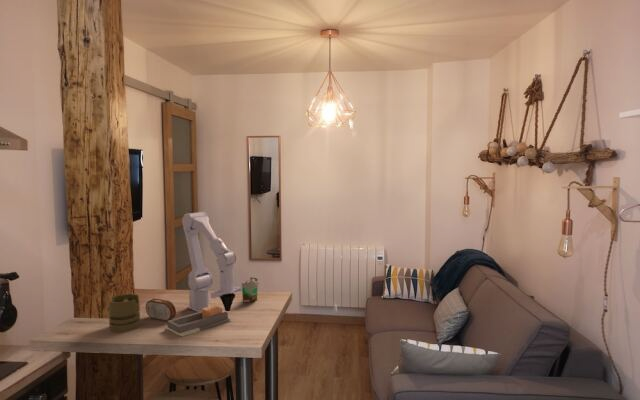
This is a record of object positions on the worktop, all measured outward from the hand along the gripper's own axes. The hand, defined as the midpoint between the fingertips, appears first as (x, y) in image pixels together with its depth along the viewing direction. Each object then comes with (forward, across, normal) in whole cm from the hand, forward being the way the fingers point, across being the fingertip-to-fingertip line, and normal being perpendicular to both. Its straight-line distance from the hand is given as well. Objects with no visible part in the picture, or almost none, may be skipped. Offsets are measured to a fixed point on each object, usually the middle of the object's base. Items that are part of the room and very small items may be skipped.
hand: (227, 310), depth 184 cm
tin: (+3, -22, +18) cm, 28 cm away
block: (+1, -8, 0) cm, 8 cm away
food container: (+3, +20, +9) cm, 22 cm away
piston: (+3, -36, +20) cm, 41 cm away
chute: (+2, -14, 0) cm, 14 cm away
